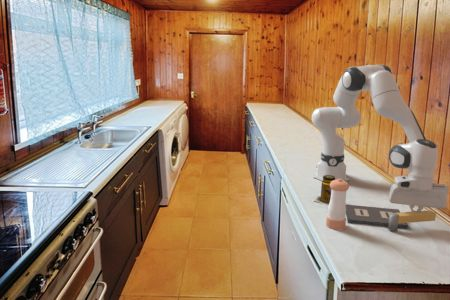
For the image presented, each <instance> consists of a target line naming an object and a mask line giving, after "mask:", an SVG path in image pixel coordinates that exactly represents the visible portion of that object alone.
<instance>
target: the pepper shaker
mask: <svg viewBox="0 0 450 300" xmlns="http://www.w3.org/2000/svg"><path fill="white" fill-rule="evenodd" d="M330 188H331V189H332V190H331V199H330V203H329V205H328V206H327V215H326V220H325V221H326V222H325V225H326V227H328V228H329V229H331V230H335V231H336V230H338V231H340V230H344V229H345V228H346V222H347V217H346V205H347V203H346V200H347V191H348V190H349V188H350V185H349V183H348V181H343V180H342V179H338V180H333V181H332V182H331V183H330Z"/></svg>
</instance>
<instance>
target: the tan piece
mask: <svg viewBox="0 0 450 300" xmlns="http://www.w3.org/2000/svg"><path fill="white" fill-rule="evenodd" d="M400 212H401V211H400ZM436 216H437V213H436V212H434V211H433V210H430V209H429V210H421V211H416V210H415V211H414V212H411V211H405V212H404V211H403V212H401V213H390V218H389V226H388V227H387V230H389V231H391V232H397V231H398V229H399V228H398V224H399V223H407V224H410V223H420V222H421V223H423V222H434V221H436V218H437V217H436Z"/></svg>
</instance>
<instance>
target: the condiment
mask: <svg viewBox="0 0 450 300" xmlns="http://www.w3.org/2000/svg"><path fill="white" fill-rule="evenodd" d="M333 180H335V177H334V176H331V175H324V176H323V181H321V188H320V196H319V195H318V196H317V197H316V198H315V200H314V202H315V203H318V204H319V203H321V204H324V205H328V206H329V203H330V199H331V190H332V189H331V188H330V183H331V182H332V181H333Z"/></svg>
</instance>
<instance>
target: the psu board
mask: <svg viewBox="0 0 450 300" xmlns="http://www.w3.org/2000/svg"><path fill="white" fill-rule="evenodd" d="M390 213H401V211H400V209H399V208H397V209H396V208H387V207H376V206H366V205H355V204H346V215H345V217H346V222H347V223H348V224H354V225H355V224H356V225H357V224H358V225H365V226H366V225H367V226H374V227H375V226H377V227H387V228H388V226H389V218H390ZM408 224H409V223H399V224H398V228H397V229H405V230H408V228H409V225H408Z"/></svg>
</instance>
